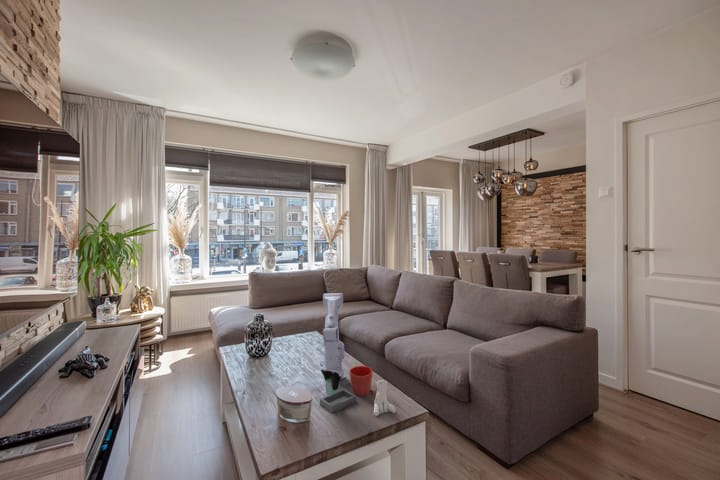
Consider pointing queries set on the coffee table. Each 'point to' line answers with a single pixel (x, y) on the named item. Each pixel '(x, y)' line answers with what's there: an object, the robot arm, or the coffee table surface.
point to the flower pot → (361, 379)
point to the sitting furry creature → (382, 399)
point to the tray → (337, 400)
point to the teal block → (330, 387)
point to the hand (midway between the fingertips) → (332, 387)
